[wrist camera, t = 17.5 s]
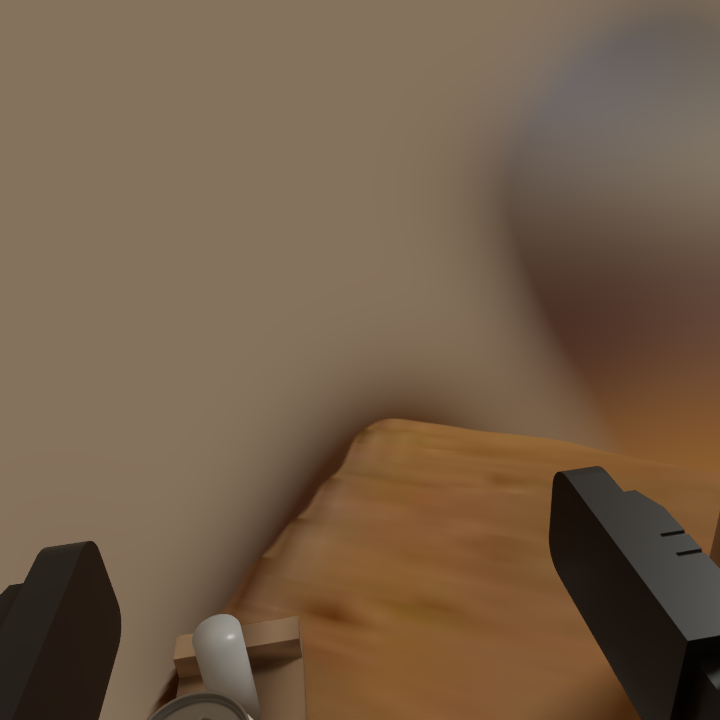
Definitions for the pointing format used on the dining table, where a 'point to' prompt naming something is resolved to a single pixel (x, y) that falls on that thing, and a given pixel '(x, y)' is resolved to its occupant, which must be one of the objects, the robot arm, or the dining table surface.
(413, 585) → the dining table surface
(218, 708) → the can
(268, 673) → the rail
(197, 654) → the grey peg
